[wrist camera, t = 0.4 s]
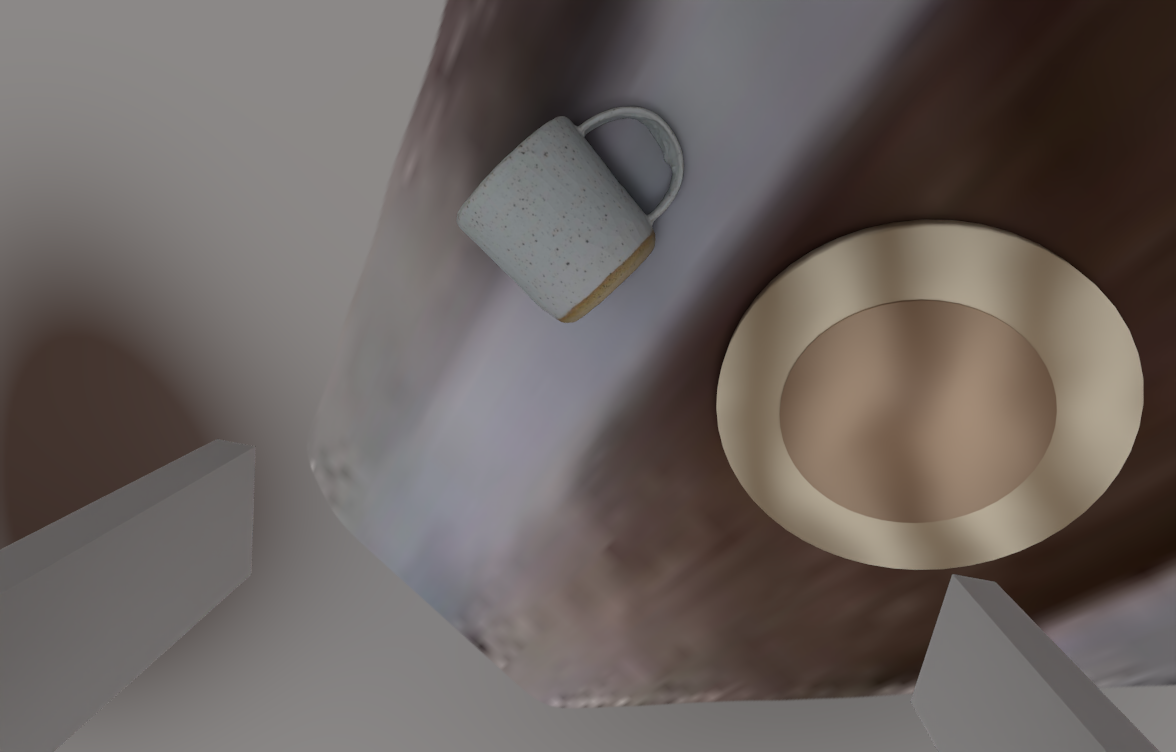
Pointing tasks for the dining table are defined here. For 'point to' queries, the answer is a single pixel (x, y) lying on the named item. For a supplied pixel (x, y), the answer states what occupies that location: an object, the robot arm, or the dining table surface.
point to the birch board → (928, 395)
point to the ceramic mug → (567, 215)
